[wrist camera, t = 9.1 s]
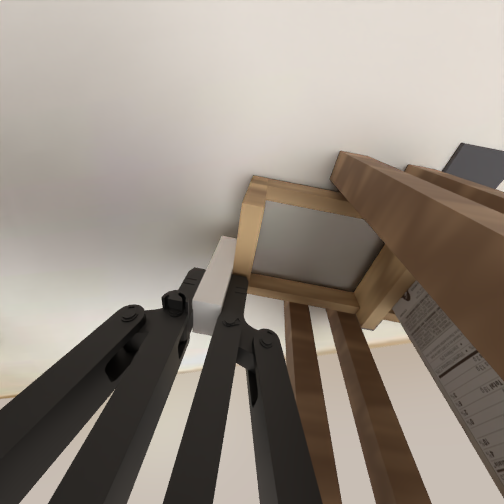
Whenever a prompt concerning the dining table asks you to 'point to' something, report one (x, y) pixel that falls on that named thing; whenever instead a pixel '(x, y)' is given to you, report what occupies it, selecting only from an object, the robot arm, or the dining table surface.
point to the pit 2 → (477, 165)
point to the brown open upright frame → (436, 285)
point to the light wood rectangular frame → (360, 302)
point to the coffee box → (458, 375)
